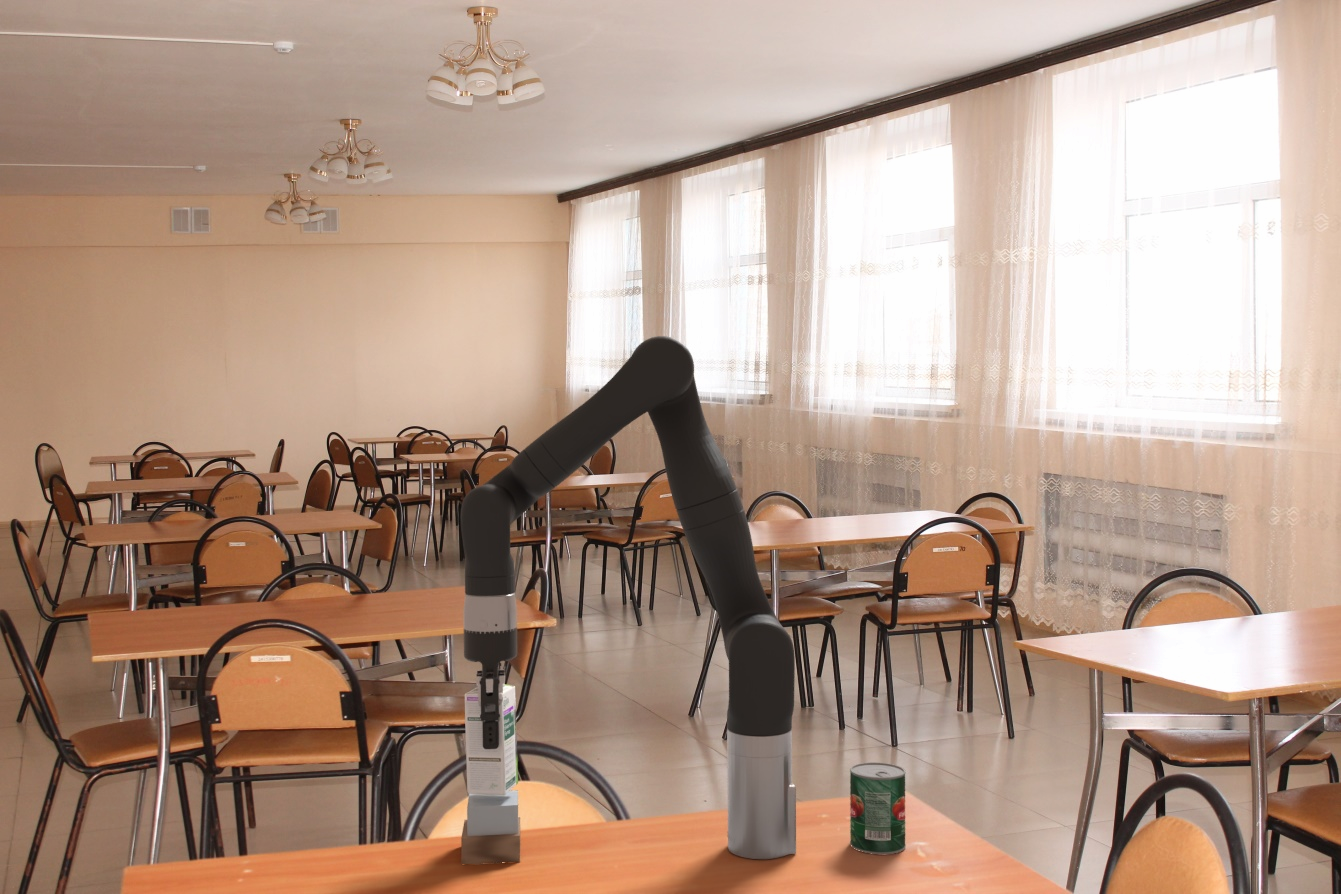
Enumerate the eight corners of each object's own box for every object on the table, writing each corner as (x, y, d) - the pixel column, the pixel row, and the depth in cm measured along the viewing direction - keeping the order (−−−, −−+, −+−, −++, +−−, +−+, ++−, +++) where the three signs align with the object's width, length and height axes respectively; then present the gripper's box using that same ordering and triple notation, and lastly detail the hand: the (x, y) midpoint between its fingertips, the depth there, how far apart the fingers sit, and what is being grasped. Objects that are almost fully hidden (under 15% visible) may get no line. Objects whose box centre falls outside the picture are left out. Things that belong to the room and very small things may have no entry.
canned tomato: (841, 839, 174) (840, 764, 174) (890, 834, 176) (889, 759, 176) (864, 858, 166) (864, 779, 166) (915, 852, 168) (915, 774, 168)
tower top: (518, 817, 173) (517, 790, 173) (518, 833, 166) (517, 805, 166) (469, 819, 172) (469, 792, 172) (467, 836, 165) (467, 807, 165)
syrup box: (505, 796, 166) (504, 692, 166) (465, 794, 167) (463, 691, 167) (518, 784, 171) (517, 684, 171) (479, 782, 173) (478, 682, 172)
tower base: (520, 844, 173) (520, 817, 173) (519, 864, 166) (519, 835, 165) (464, 847, 173) (464, 819, 172) (461, 867, 165) (461, 838, 165)
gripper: (516, 632, 162) (517, 754, 162) (517, 616, 176) (518, 728, 177) (460, 634, 161) (462, 756, 162) (466, 617, 176) (467, 730, 176)
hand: (491, 741), depth 169 cm, fingers closed on syrup box, 6 cm apart
